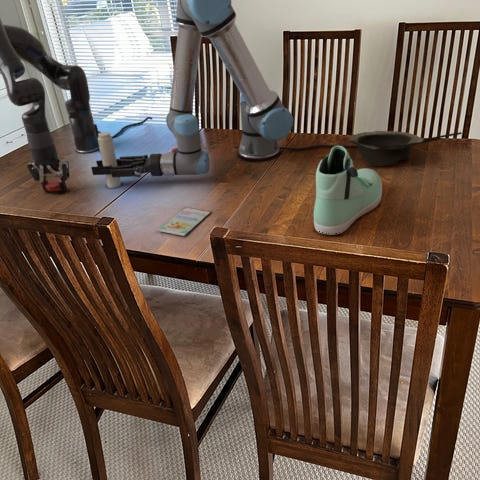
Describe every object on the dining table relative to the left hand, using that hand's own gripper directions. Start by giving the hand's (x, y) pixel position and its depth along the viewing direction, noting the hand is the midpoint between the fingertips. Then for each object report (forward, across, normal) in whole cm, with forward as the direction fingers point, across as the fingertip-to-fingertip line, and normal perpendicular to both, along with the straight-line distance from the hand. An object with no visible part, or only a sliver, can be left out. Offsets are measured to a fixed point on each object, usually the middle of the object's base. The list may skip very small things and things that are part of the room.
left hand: (55, 191), depth 163 cm
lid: (-2, 0, 0) cm, 2 cm away
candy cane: (0, +34, +30) cm, 45 cm away
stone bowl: (0, +111, +26) cm, 114 cm away
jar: (0, +19, +5) cm, 20 cm away
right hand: (-6, +14, +5) cm, 16 cm away
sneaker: (0, +97, -13) cm, 98 cm away
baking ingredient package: (0, +50, -21) cm, 54 cm away
